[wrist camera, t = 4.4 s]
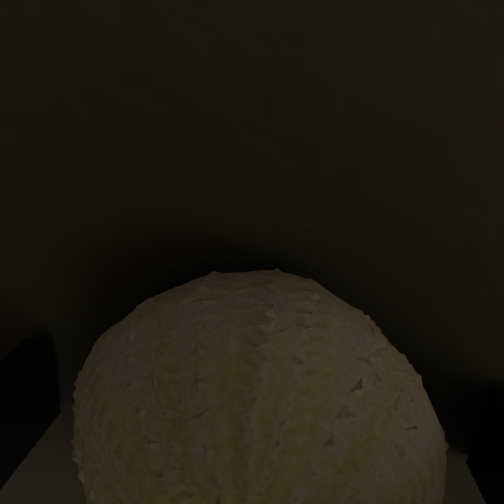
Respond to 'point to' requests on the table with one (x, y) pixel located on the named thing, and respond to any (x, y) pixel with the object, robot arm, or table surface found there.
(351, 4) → the table surface
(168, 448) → the sea urchin shell
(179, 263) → the table surface
